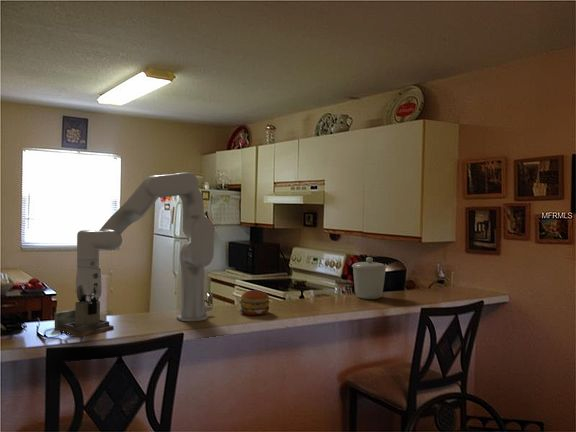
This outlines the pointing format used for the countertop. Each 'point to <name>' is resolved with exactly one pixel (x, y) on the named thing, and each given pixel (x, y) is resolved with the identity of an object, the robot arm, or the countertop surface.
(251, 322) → the countertop surface
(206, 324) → the countertop surface
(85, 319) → the padlock
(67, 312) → the open hinged box
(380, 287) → the canister
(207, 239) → the robot arm
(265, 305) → the burger
